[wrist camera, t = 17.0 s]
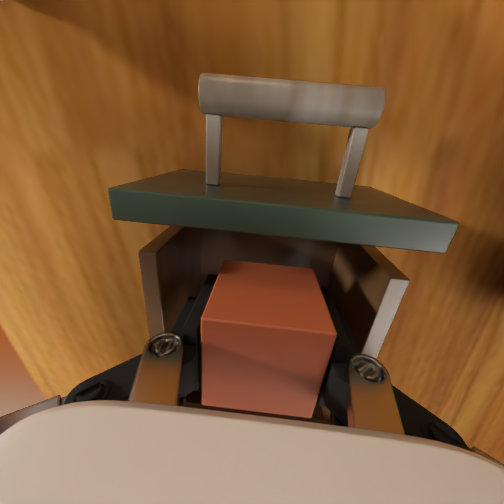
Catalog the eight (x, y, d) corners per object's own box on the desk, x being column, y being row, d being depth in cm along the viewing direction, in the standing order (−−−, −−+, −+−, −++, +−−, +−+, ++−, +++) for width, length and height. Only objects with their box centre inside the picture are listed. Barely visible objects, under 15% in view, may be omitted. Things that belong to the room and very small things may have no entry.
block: (224, 258, 12) (199, 318, 8) (313, 268, 12) (338, 334, 7) (221, 327, 14) (201, 406, 9) (298, 336, 13) (311, 419, 9)
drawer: (178, 93, 14) (79, 35, 6) (393, 111, 13) (534, 70, 6) (188, 334, 21) (148, 427, 14) (323, 350, 21) (351, 453, 14)
